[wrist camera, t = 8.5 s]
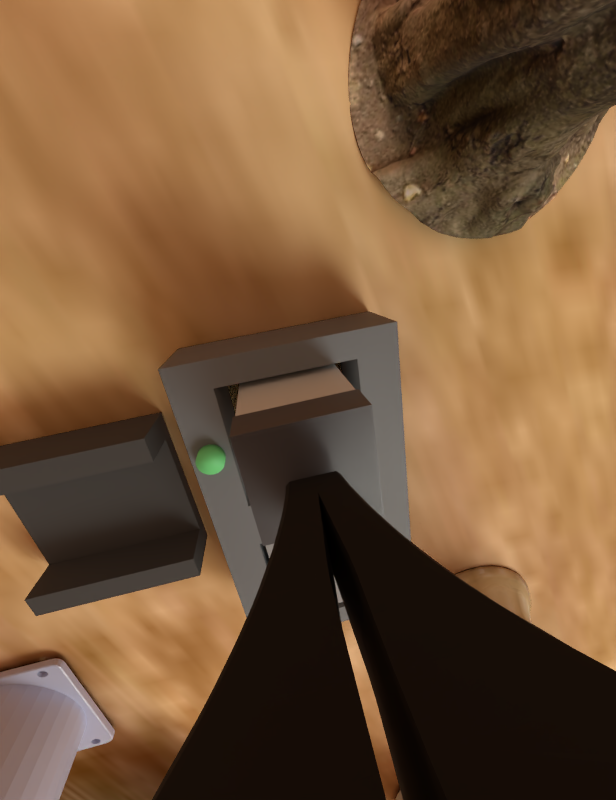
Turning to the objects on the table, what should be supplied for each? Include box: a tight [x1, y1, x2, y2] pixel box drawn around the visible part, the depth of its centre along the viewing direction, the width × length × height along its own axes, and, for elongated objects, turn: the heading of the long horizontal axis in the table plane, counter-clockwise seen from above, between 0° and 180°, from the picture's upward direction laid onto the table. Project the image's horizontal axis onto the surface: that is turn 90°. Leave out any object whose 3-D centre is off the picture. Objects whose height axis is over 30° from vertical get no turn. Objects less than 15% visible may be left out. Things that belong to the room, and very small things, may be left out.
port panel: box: [158, 312, 411, 622], centre depth 15 cm, size 8×14×3 cm, turn 9°
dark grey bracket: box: [0, 412, 207, 616], centre depth 14 cm, size 7×7×2 cm
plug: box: [230, 364, 384, 546], centre depth 12 cm, size 4×4×6 cm
